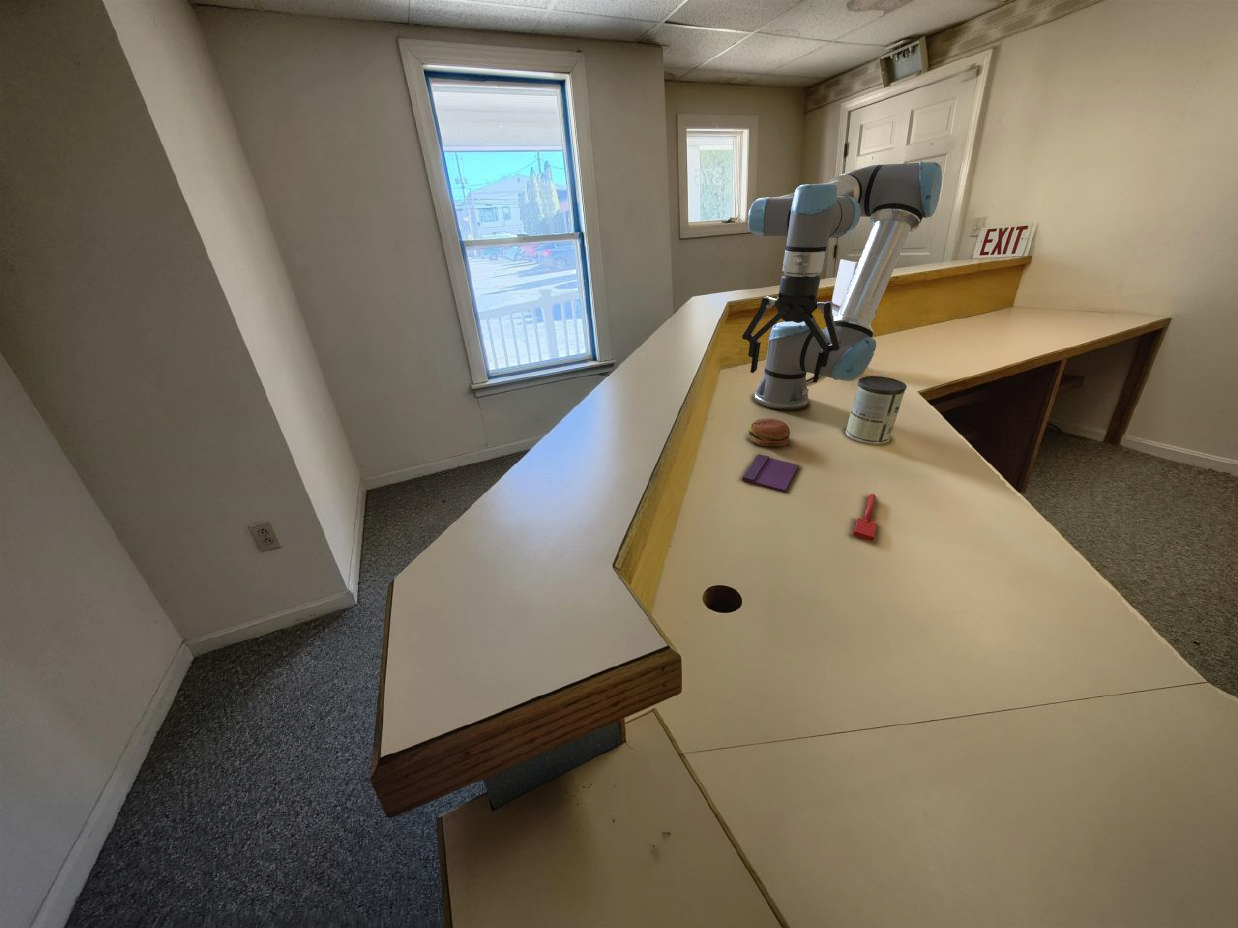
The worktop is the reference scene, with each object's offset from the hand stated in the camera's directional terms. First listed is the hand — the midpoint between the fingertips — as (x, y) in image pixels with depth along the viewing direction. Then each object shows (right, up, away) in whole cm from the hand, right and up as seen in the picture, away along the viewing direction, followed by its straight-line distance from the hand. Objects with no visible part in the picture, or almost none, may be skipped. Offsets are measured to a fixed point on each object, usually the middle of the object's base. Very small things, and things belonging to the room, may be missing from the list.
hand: (783, 375), depth 102 cm
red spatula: (+10, -29, -16) cm, 35 cm away
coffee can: (+26, -13, +14) cm, 32 cm away
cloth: (-4, -22, -2) cm, 22 cm away
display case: (+43, +16, +63) cm, 78 cm away
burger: (0, -14, +12) cm, 18 cm away
